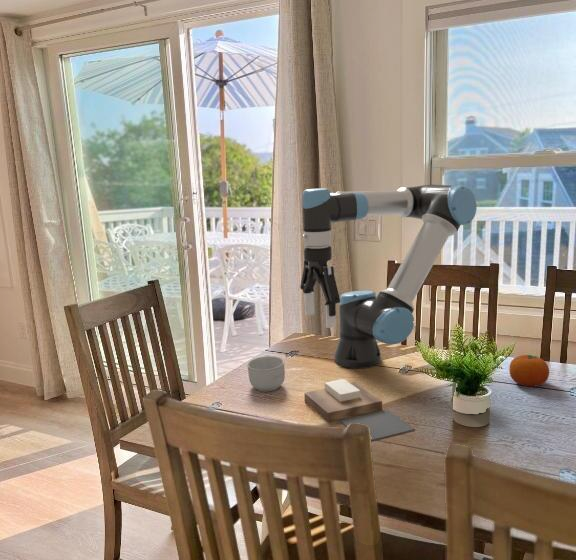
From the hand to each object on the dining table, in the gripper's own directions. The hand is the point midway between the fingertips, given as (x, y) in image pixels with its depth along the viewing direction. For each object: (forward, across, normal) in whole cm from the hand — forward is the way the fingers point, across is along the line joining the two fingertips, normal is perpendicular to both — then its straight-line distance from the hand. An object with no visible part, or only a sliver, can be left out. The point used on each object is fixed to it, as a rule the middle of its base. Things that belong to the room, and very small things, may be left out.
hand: (320, 320), depth 156 cm
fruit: (+22, +23, +55) cm, 64 cm away
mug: (+21, +26, +31) cm, 46 cm away
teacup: (+21, -10, -13) cm, 26 cm away
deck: (+21, +12, 0) cm, 24 cm away
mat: (+21, +26, +2) cm, 33 cm away
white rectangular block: (+18, +10, +1) cm, 21 cm away
